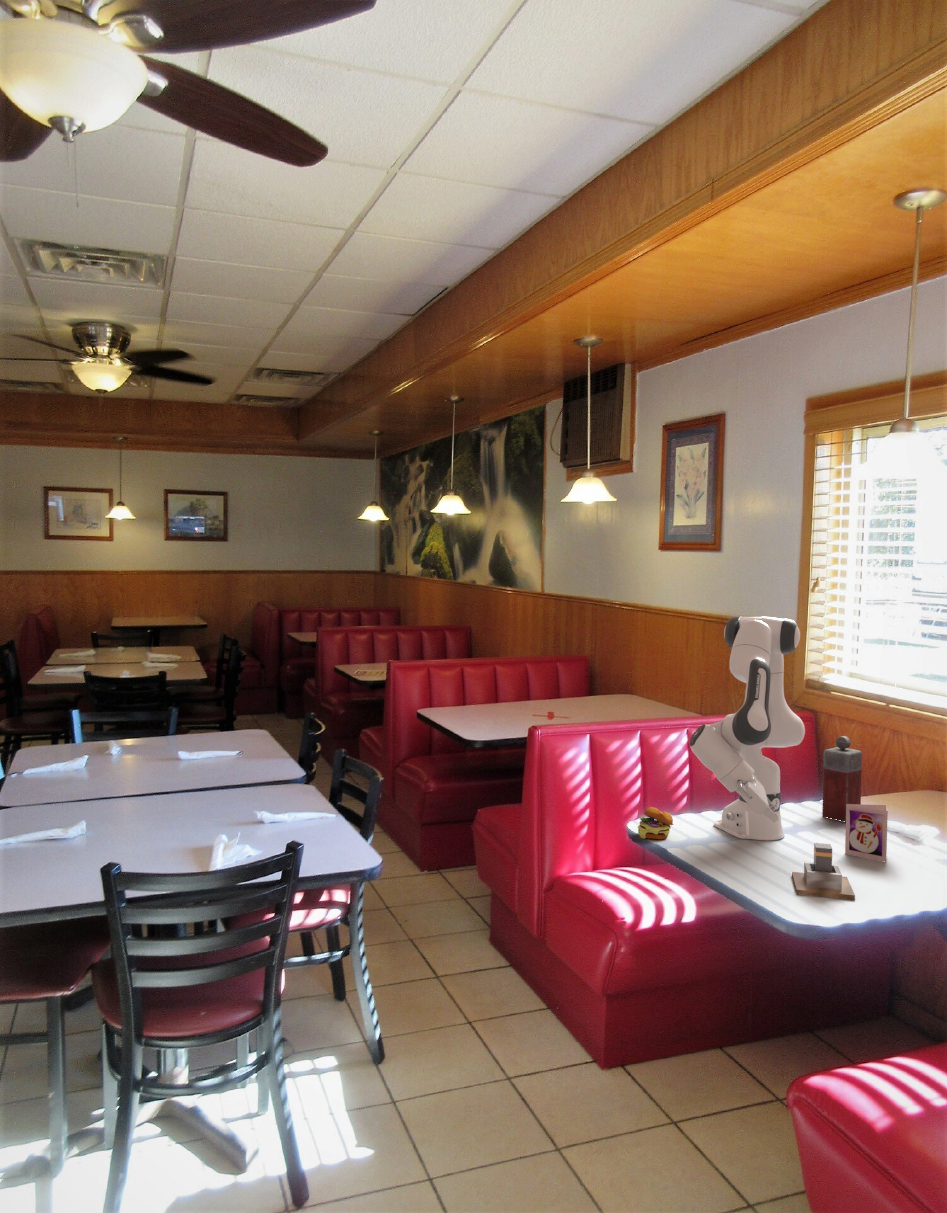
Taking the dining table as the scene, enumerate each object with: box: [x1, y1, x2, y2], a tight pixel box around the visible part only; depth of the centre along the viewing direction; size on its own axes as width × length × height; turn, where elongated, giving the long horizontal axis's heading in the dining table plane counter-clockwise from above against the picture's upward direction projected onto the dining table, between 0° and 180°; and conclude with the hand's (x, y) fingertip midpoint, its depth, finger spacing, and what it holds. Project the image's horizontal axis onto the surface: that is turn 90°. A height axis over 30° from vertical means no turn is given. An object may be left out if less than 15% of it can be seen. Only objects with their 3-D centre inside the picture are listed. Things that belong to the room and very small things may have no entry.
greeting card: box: [844, 803, 889, 863], centre depth 257 cm, size 11×7×15 cm, turn 51°
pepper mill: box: [821, 735, 863, 822], centre depth 297 cm, size 9×11×28 cm
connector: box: [813, 842, 833, 873], centre depth 231 cm, size 4×4×10 cm
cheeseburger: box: [637, 806, 674, 840], centre depth 276 cm, size 10×11×10 cm
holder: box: [791, 861, 856, 901], centre depth 231 cm, size 14×14×5 cm
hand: (775, 815), depth 234 cm, fingers open, 8 cm apart
